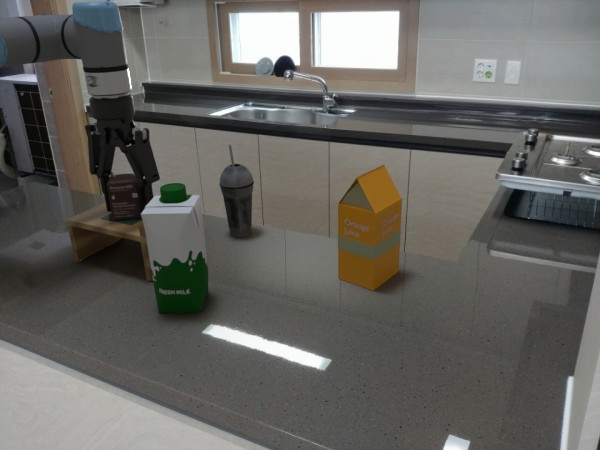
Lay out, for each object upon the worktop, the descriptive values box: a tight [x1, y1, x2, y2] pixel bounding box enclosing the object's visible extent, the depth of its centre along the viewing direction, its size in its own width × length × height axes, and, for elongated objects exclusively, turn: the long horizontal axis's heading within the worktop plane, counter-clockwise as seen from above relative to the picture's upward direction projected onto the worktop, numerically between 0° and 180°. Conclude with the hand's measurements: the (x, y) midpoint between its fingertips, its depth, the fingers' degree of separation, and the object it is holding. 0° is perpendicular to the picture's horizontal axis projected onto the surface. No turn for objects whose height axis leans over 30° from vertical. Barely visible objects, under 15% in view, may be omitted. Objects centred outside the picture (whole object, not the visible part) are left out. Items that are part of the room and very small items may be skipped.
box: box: [107, 173, 141, 220], centre depth 103 cm, size 6×6×7 cm
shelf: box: [65, 201, 153, 282], centre depth 106 cm, size 20×14×11 cm
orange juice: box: [337, 164, 403, 291], centre depth 94 cm, size 8×9×20 cm
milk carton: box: [141, 182, 209, 314], centre depth 88 cm, size 9×9×20 cm
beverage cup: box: [218, 144, 255, 238], centre depth 113 cm, size 7×7×20 cm
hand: (130, 212), depth 105 cm, fingers closed on box, 8 cm apart
